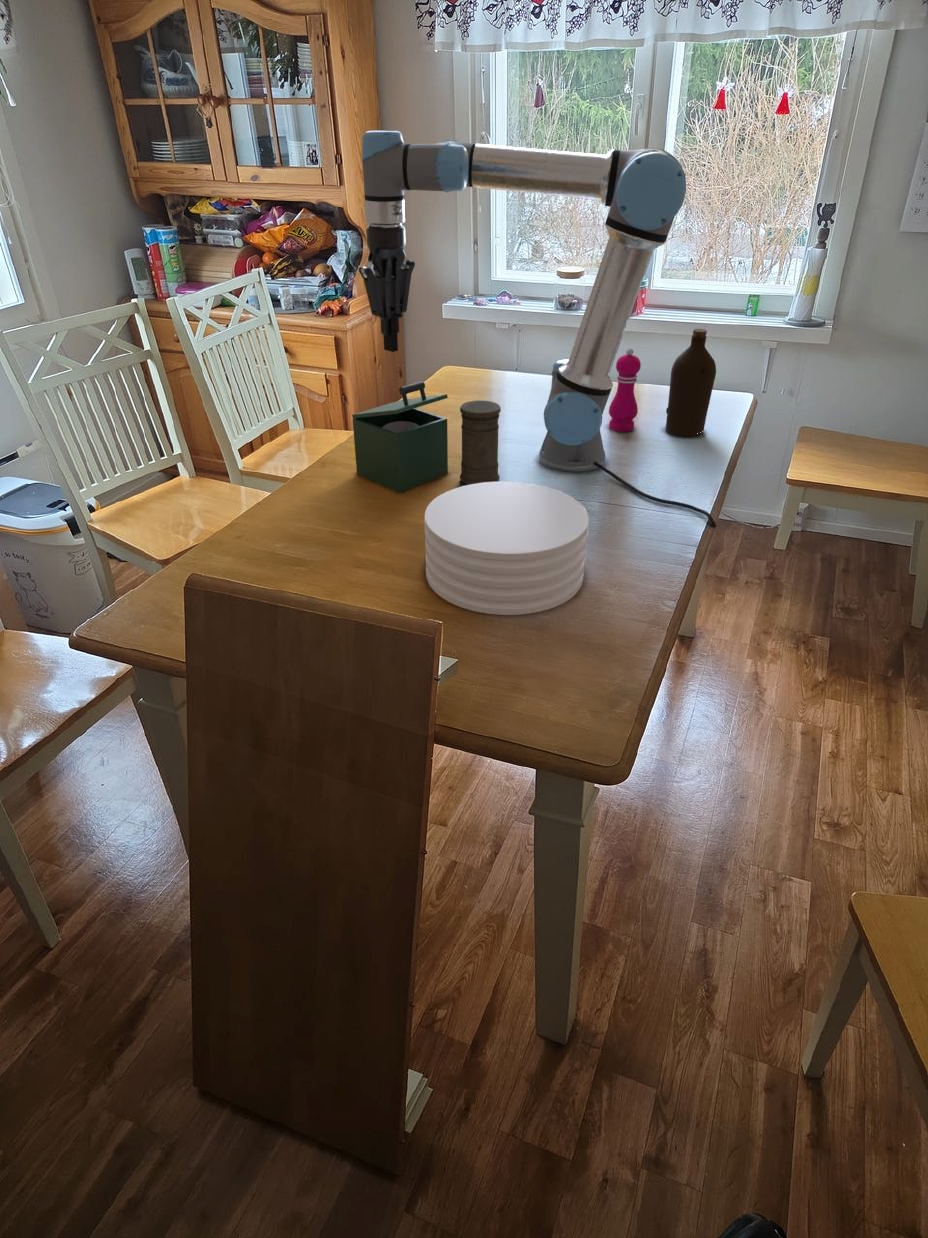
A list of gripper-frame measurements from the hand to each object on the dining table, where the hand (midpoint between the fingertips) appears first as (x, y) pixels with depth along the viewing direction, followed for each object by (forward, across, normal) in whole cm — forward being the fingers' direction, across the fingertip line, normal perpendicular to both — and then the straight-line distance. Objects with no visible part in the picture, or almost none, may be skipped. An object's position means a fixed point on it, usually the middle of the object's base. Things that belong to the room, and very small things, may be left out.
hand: (391, 349), depth 165 cm
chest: (+27, 0, -2) cm, 27 cm away
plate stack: (+27, -17, -48) cm, 58 cm away
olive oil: (+27, +69, -33) cm, 81 cm away
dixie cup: (+26, 0, -2) cm, 26 cm away
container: (+27, +7, -19) cm, 34 cm away
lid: (+12, 0, -2) cm, 12 cm away
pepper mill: (+27, +60, -20) cm, 69 cm away
